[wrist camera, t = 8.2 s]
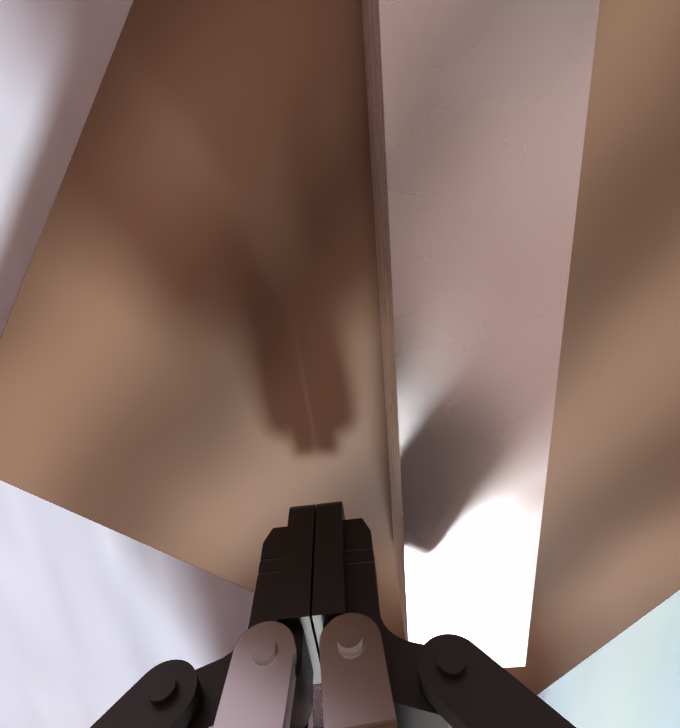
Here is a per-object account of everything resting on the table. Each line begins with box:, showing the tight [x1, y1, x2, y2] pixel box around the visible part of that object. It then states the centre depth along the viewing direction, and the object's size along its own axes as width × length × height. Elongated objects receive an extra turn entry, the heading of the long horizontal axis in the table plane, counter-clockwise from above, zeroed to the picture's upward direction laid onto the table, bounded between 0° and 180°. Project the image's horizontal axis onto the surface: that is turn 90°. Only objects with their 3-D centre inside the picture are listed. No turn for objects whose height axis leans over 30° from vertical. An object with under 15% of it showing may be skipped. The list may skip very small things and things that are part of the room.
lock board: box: [0, 0, 680, 695], centre depth 13 cm, size 24×25×7 cm
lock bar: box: [361, 0, 600, 668], centre depth 10 cm, size 20×5×5 cm, turn 5°
